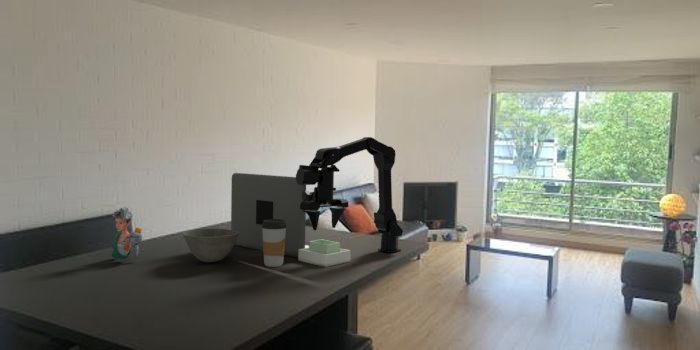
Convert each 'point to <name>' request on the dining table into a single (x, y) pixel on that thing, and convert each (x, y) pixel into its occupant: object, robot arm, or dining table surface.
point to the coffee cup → (273, 241)
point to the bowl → (210, 243)
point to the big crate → (324, 257)
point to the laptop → (267, 209)
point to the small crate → (324, 246)
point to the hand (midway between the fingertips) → (324, 228)
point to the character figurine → (125, 235)
